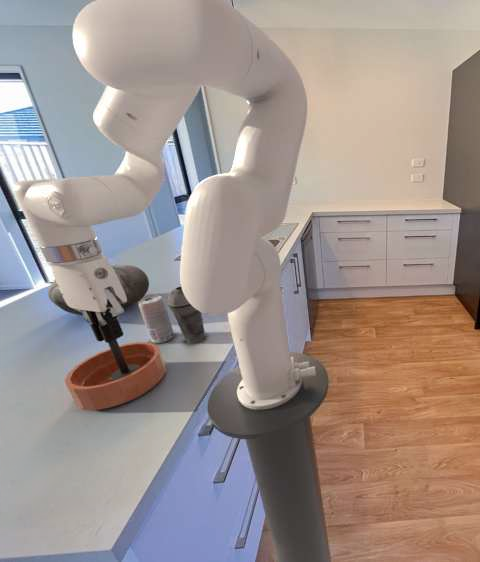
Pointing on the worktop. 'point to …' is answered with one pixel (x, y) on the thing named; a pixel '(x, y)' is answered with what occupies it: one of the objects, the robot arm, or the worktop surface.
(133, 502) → the worktop surface
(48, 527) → the worktop surface
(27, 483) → the worktop surface
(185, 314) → the beverage cup
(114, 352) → the grey disc stick
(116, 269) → the gourd
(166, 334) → the energy drink
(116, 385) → the bowl
